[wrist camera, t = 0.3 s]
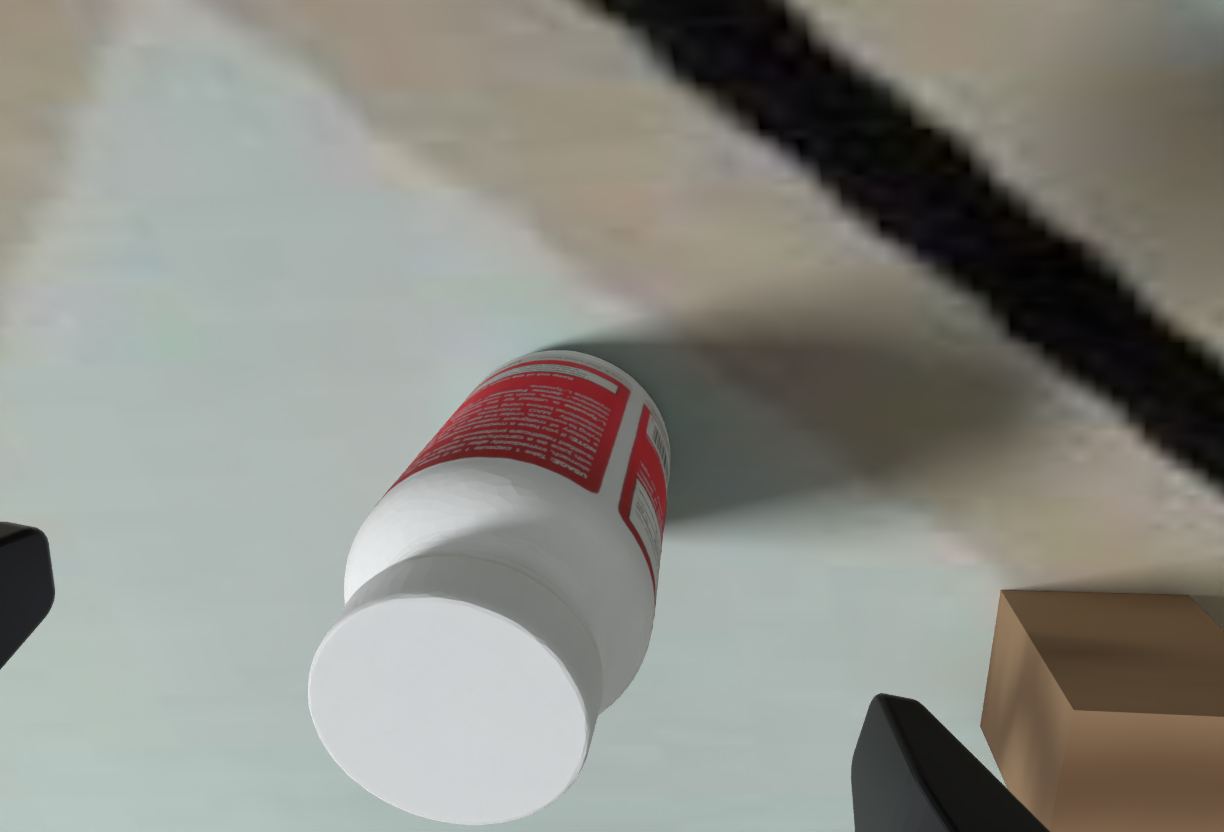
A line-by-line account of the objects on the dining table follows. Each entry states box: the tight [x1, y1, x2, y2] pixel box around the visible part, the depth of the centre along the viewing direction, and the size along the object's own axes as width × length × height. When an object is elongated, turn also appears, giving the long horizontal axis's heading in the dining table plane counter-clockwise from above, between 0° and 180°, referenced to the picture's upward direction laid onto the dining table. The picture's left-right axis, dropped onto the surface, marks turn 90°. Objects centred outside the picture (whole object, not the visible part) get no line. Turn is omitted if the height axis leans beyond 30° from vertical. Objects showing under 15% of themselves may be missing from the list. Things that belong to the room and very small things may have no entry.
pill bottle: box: [308, 350, 671, 825], centre depth 17 cm, size 6×6×11 cm
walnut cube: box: [980, 590, 1224, 832], centre depth 21 cm, size 5×5×5 cm
